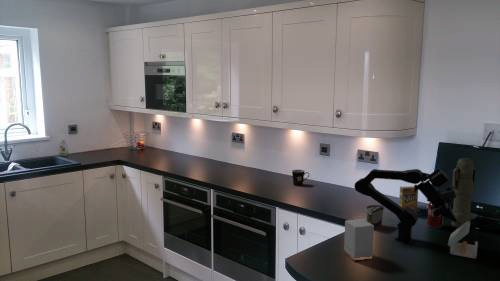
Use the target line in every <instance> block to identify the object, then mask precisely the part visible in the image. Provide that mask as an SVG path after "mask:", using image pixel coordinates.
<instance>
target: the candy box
mask: <svg viewBox="0 0 500 281" xmlns="http://www.w3.org/2000/svg"><path fill="white" fill-rule="evenodd" d="M418 198H419V189H418V190H417V191H416V192H414V186H399V199H398V200H399V201H398V205H399V206H401V207H403V208H406V207H407V206H408V207H410V208H411V209H412V210H414V211H415V213H416V214H417V215H418Z"/></svg>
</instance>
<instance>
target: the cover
mask: <svg viewBox="0 0 500 281" xmlns="http://www.w3.org/2000/svg"><path fill="white" fill-rule="evenodd" d="M470 226H471V222H469V221H467V222H465V223H464V224H463V225H462V226H460V227H459V228H456V229H455V230H454V231H453V232H452V233H451V234H450V236H449V239H448V243H447V245H448V246H449V247H450V248H451V246H453V245H454V244H455V243H457V242H458V243H459V241H461V240H462V239H463V238H464V237H465V236H467V235H468V234H469V233H470V229H471V228H470Z"/></svg>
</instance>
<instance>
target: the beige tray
mask: <svg viewBox="0 0 500 281" xmlns="http://www.w3.org/2000/svg"><path fill="white" fill-rule="evenodd" d="M478 244H479V241H477V240H476V241H474V245H473V244H468V241H465V240H463V242H459V241H458V242H457V243H455V244H454V245H453V246H451V247H450V248H449V249H450V250H449V254H450V255H453V256H454V255H455V256H459V257H463V258H464V257H465V258H469V259H470V258H471V259H475V260H476V259H477V254H478Z"/></svg>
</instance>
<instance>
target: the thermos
mask: <svg viewBox="0 0 500 281" xmlns="http://www.w3.org/2000/svg"><path fill="white" fill-rule="evenodd" d="M476 179H477V169H476V167H475V164H474V160H473V159H472V158H469V157H460V158H458V161H457V162H456V167H455V168H454V169H453V170H452V184H451V186H452V187H451V188H452V189H453V188H454V190H455V192H456V194H457V196H456V198H453V208H452V209H451V210H452V212H453V213H454V215H455V217H456V219H457V221H456V222H454V221H452V220H451V223H450V225H451V226H452V227H455V228H456V229H458V228H459V227H460V226H462V225H463V224H464V223H465V222H467V221H469V222H470V223H471V221H472V213H471V206H472V195H473V194H474V188H475V187H476Z"/></svg>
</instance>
